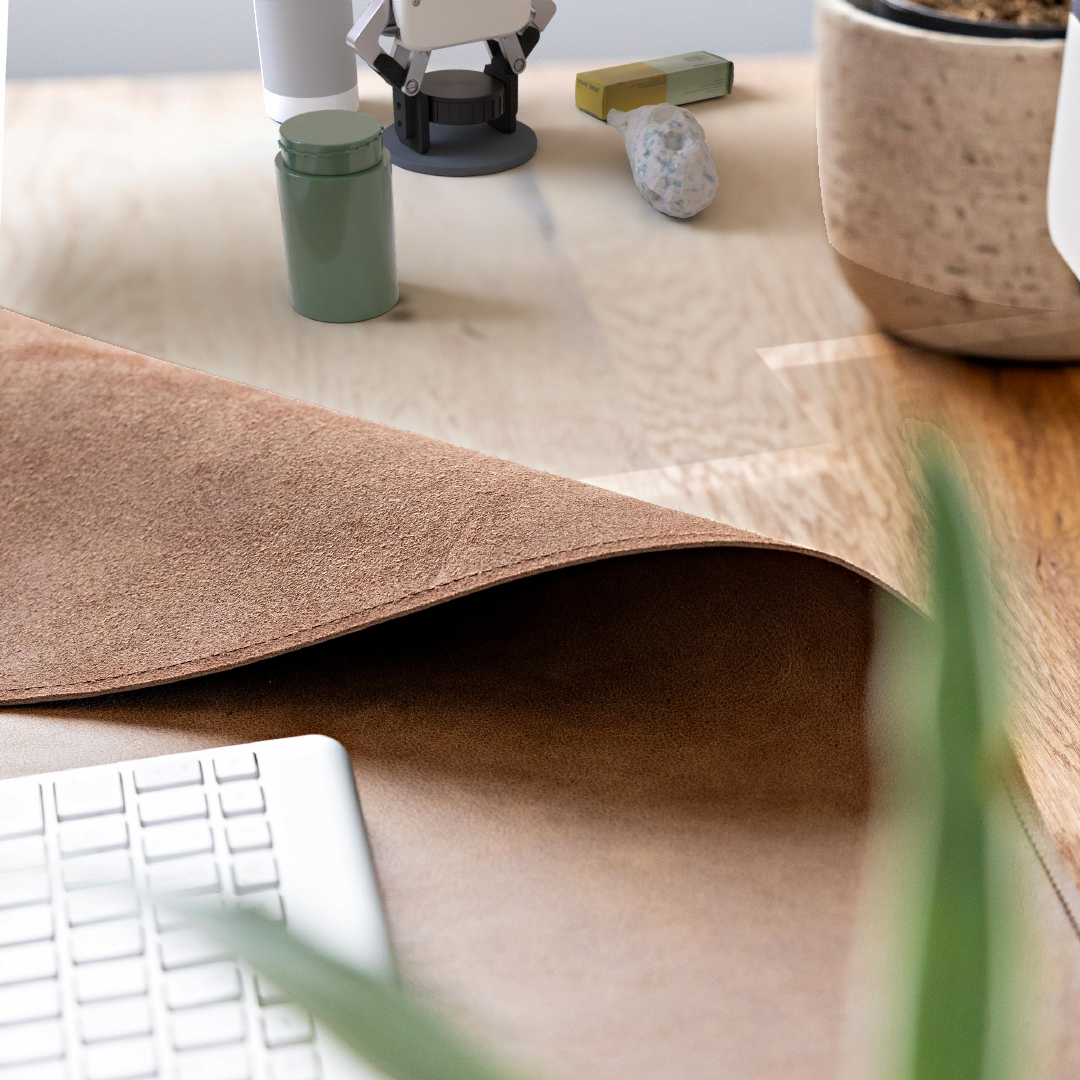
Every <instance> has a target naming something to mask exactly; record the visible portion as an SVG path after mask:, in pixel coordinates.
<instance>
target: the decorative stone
mask: <svg viewBox="0 0 1080 1080" xmlns="http://www.w3.org/2000/svg"><path fill="white" fill-rule="evenodd" d="M606 122H607V124H608V125H609V126H612V127H613V128H614V129H616V130H617V131H618V132H619V135H620V136H621V137H622V140H623V145H624V150H625V152H626V155H627V158H628V161H629V164H630V165H629V166H630V168H631V172H632V175H633V180H634V184H635V186H636V188H637V189H638V191H639V192H640V194H641V195H642V196H643V197H644V198H645V200H646V201H647V202H648V204H649V205H650V206H651V207H652V208H653V209H655V210H657V211H659V212H661V213H663V214H665V215H667V216H669V217H675V218H682V219H687V218H691V217H693V216H695V215H697V214H698V213H699V212H701V211H703V210H705V209H706V208H707V207H709V206H710V205H711V203H712V202H713V200H715V198H716V195H717V193H718V191H719V187H720V179H719V176H718V172H717V165H716V162H715V160H714V157H713V153H712V150H711V149H710V147H709V145H708V144H707V142H706V132H705V129H704V127H703V126H701V123H699V122H698V120H697V118H696V116H694V114H693V113H692V112H691V111H690V110H689V109H687V108H685V107H681V106H678V105H671V104H669V103H661V104H658V105H646V106H642V107H639V108H637V109H633V110H630V111H628V112H623V111H620V110H616V109H614V108H612V109H611V110H610V111H609V113H608V115H607V119H606Z"/></svg>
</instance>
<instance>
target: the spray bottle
mask: <svg viewBox="0 0 1080 1080" xmlns="http://www.w3.org/2000/svg"><path fill="white" fill-rule="evenodd" d="M252 1H253V10H254V18H255V19H254V20H255V28H256V36H257V45H258V54H259V62H260V71H261V80H262V87H263V89H262V90H263V98H264V107H265V111H266V114H267V116H268V117H269V118H270V119H272V120H273V121H274V122H278V123H280V124H282V123H283V122H284V121H286V120H287V119H289V118H291V117H293V116H296V115H299V114H303V113H307V112H312V111H320V110H349V111H356V112H359V108H360V94H359V82H358V66H357V54H356V53H355V52H354V51H353V50H352V49H351V48H350V47H349V46H348V45H347V43H346V36H347V34H348V32H349V31H350V30H351V28H352V27H353V25H354V24H355V22H354V11H353V9H354V8H353V0H252Z"/></svg>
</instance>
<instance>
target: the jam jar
mask: <svg viewBox="0 0 1080 1080" xmlns="http://www.w3.org/2000/svg"><path fill="white" fill-rule="evenodd" d="M384 129H385V125H384V124H383V122H381V121H380V120H379V119H377V117H376V118H375V117H374V116H372V115H370V114H367V113H364V112H361V111H357V112H356V111H349V110H320V111H312V112H307V113H303V114H299V115H296V116H293V117H291V118H289V119H287V120H286V121H284V122H283V123H280V125H279V129H278V135H279V139H277V144H278V148H279V149H280V150H279V151H278V152H277V153H276V155H275V156H274V159H273V161H274V162H273V163H274V169H275V170H274V171H275V178H276V189H277V195H278V205H279V214H280V222H281V232H282V240H283V249H284V257H285V267H286V275H287V283H288V284H287V285H288V292H289V300H290V305H291V307H292V308H293V309H294V310H295V311H296V312H297V313H299V314H300V315H302V316H304V317H306V318H309V319H312V320H315V321H319V322H324V323H325V322H326V323H339V324H340V323H353V322H355V323H356V322H361V321H365V320H369V319H373V318H376V317H379V316H381V315H383V314H386V313H387V312H388V311H390V310H391V309H392V308H394V307H395V306H396V305H397V303H398V301H399V298H400V286H399V285H400V284H399V270H398V269H399V267H398V251H397V235H396V234H397V233H396V219H395V218H396V217H395V216H396V215H395V200H394V199H395V198H394V182H393V180H394V179H393V165H392V164H393V163H392V162H391V154H390V152H389V150H388V149H387V148H385V147H384V146H383V140H382V137H383V133H384Z"/></svg>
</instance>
